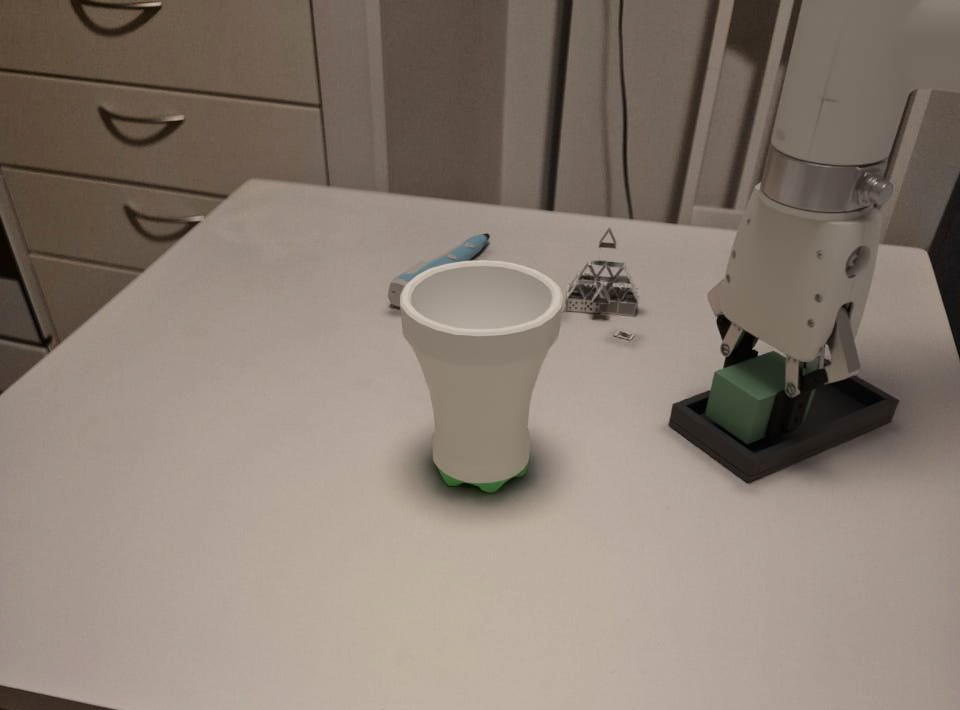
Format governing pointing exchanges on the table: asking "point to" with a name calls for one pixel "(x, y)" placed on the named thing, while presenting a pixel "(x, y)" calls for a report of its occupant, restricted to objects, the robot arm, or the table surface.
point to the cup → (481, 361)
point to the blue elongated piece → (437, 264)
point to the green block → (748, 395)
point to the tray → (827, 424)
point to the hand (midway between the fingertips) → (756, 413)
